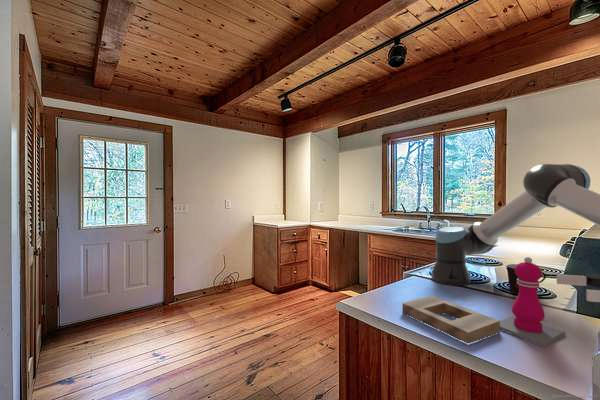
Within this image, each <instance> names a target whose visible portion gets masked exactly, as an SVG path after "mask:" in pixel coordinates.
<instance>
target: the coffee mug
mask: <svg viewBox="0 0 600 400" xmlns="http://www.w3.org/2000/svg"><path fill="white" fill-rule="evenodd" d="M517 264H518V263H507V264H506V271H507V272H506V273H507V279H508V286H509V292H510V291H512V292H514V293H513V294H515V293H516V294H515V295H518V294H519V284H517V278H518V276H517V275H516V274H515V267H516V265H517ZM542 276H543V278H542V279H540V280H538V281H539V282H540V283H539V284H541V283H543V282H544V281H545V280H546V278H547V277H546V273H545V272H543V271H542ZM512 292H511V293H512Z"/></svg>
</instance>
